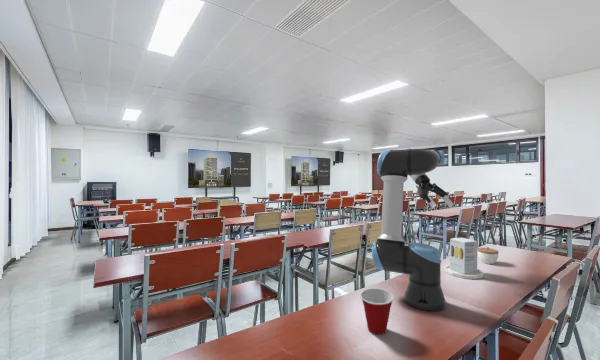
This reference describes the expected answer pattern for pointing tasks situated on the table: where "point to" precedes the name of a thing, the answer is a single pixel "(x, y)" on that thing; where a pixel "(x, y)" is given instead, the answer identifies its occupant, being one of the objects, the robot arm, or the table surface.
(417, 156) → the robot arm
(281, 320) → the table surface
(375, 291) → the plastic cup
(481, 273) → the dish
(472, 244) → the supplement box
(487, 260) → the lidded jar
